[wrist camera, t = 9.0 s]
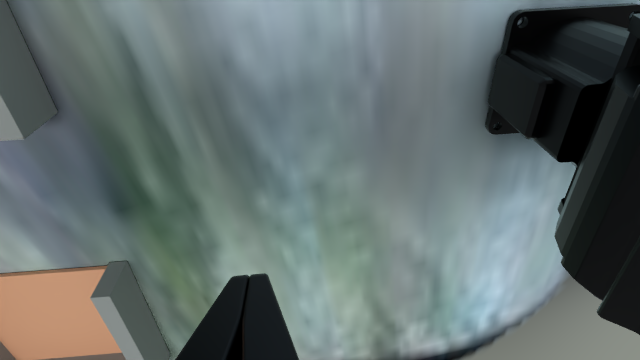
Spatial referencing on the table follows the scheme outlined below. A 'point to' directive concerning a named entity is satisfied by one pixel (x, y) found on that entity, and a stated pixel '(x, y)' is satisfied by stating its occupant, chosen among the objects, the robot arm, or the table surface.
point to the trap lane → (63, 284)
